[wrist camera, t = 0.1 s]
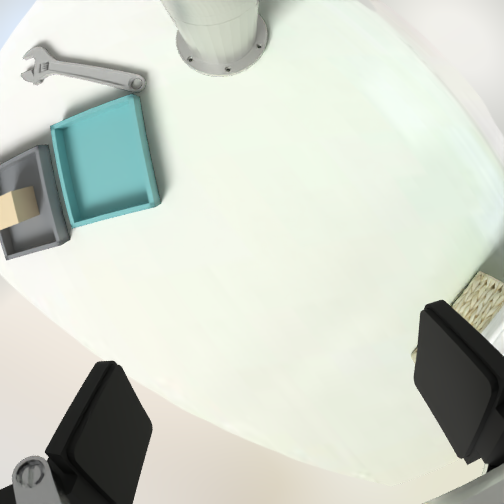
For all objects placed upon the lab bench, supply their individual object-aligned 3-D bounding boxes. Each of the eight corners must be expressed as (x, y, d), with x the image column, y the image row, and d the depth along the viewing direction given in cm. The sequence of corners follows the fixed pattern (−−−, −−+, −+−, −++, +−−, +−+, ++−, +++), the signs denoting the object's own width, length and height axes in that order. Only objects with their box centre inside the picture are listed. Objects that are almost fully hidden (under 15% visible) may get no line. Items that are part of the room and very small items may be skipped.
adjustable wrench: (150, 78, 39) (147, 75, 37) (131, 118, 40) (127, 117, 39) (34, 46, 35) (29, 44, 33) (20, 80, 36) (14, 79, 35)
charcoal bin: (-6, 171, 41) (-16, 173, 38) (48, 144, 40) (37, 145, 37) (15, 255, 46) (6, 260, 43) (70, 239, 45) (61, 245, 42)
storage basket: (438, 382, 56) (468, 426, 42) (398, 357, 53) (431, 408, 39) (507, 298, 50) (549, 330, 36) (477, 259, 47) (528, 290, 33)
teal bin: (60, 126, 39) (50, 126, 37) (139, 97, 39) (132, 93, 36) (81, 223, 44) (71, 228, 41) (161, 203, 44) (155, 207, 41)
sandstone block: (13, 193, 42) (-8, 200, 36) (32, 185, 41) (11, 191, 36) (20, 221, 43) (-1, 230, 37) (39, 214, 43) (18, 223, 37)
